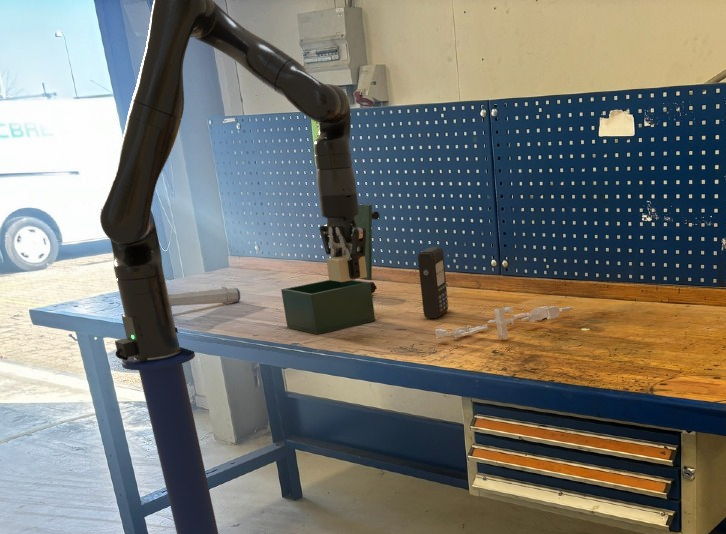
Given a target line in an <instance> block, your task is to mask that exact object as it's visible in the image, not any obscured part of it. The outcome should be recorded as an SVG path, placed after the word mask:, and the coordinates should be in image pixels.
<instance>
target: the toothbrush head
mask: <svg viewBox="0 0 726 534" xmlns="http://www.w3.org/2000/svg"><path fill="white" fill-rule="evenodd" d="M240 291H241V290H240V289H239V288H238V287H226V286H221V288H213V289H204V290H203V289H202V290H194V291H186V292H177V293H168V296H169V300H170V305H171V310H172V309H173V308H172V307H177V306H178V307H179V306H196V305H210V304H211V305H213V304H223V305H228V304H229V303H239V302H240V300H241V292H240Z"/></svg>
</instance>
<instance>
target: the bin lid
mask: <svg viewBox="0 0 726 534" xmlns="http://www.w3.org/2000/svg"><path fill="white" fill-rule="evenodd" d="M358 210H359V213H358V215H356V216H355V217H354V219H355V222H356V225H357V227H359V228H365V229H366V244H365V263H366V272H367V277H365V278H360V279H359V280H364V281H365V280H366V281H372V280H373V275H372V274H373V266H372V265H373V264H372V263H373V243H372V242H373V220H379V218H380V213H379V211H376V210H375V211H374V210H373V205H372V204H358ZM349 244H352V243H349ZM338 250H339V248H338ZM358 250H359V251H360V246H359V247H358ZM350 251H351V254H352V249H350ZM345 255H346V252H345V250H344V256H345Z"/></svg>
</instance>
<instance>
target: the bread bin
mask: <svg viewBox="0 0 726 534" xmlns="http://www.w3.org/2000/svg"><path fill="white" fill-rule="evenodd" d="M370 282H371V281H365V280H364V281H363V280H359V279H355V280H350V281H344V282H338V281H332V280H329V279H326V280H322V281H317V282H311V283H306V284H301V285H296V286H291V287H285V288H281V289H280V290H281V297H282V303H283V309H284V315H285V322H286V327H287V329H292V330H296V331H300V332H304V333H309V334H313V335H321V334H326V333H330V332H334V331H338V330H341V329H347V328H351V327H355V326H358V325H362V324H366V323H370V322H374V321H376V316H375V314H376V313H375V308H374V307H375V306H374V300H373V299H374V298H373V293H372V290H371V283H370Z"/></svg>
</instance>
